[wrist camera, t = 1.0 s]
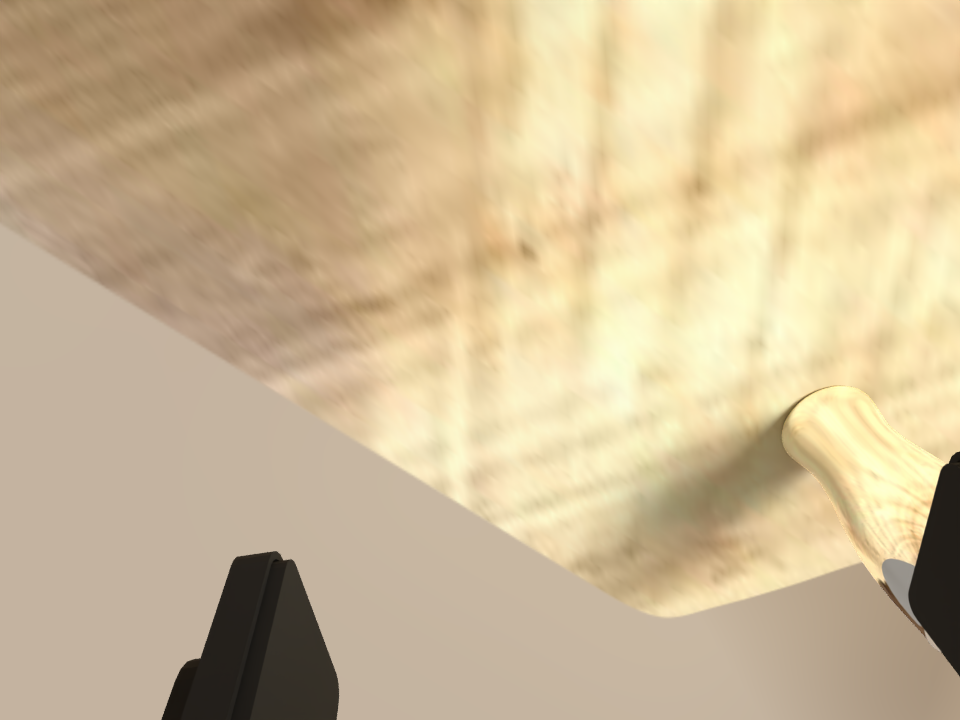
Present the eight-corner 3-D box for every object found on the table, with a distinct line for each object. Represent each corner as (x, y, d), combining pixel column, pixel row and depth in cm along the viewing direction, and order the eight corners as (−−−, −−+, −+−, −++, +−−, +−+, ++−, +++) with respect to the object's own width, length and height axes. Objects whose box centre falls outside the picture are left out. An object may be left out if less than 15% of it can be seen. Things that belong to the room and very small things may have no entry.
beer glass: (808, 367, 42) (983, 542, 29) (902, 392, 43) (1109, 568, 30) (754, 457, 45) (891, 650, 32) (844, 476, 47) (1009, 670, 33)
